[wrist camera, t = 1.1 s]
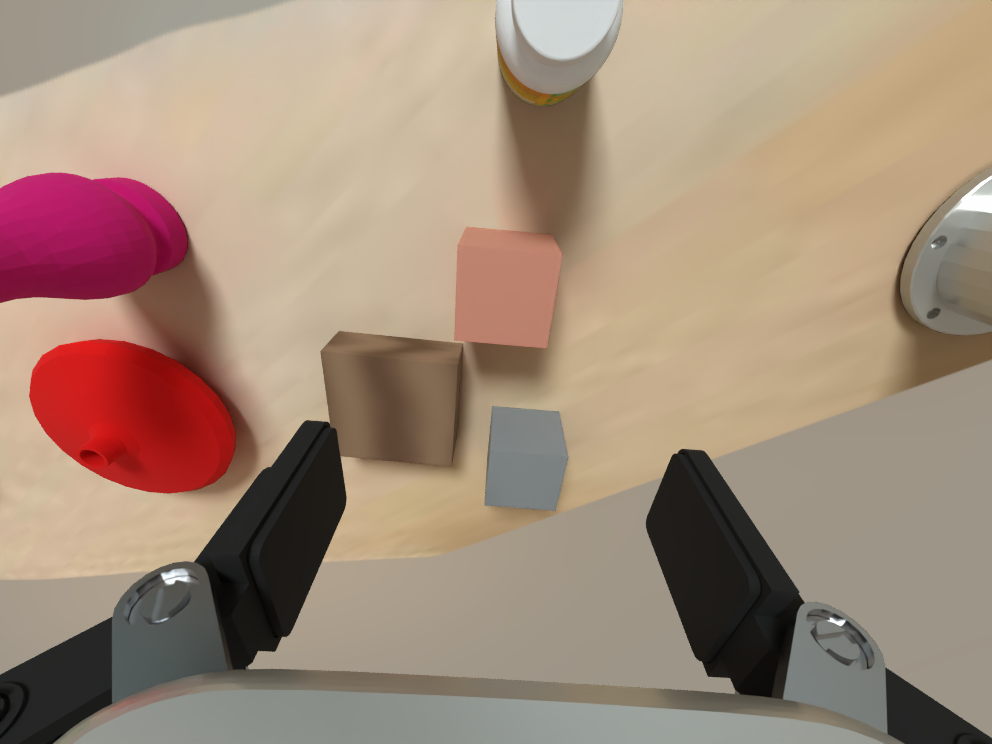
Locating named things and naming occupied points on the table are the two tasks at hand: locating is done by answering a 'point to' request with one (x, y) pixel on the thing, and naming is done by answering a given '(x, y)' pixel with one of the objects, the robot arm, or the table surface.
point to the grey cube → (525, 459)
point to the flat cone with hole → (132, 415)
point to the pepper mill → (84, 237)
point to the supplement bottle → (554, 44)
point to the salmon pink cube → (506, 287)
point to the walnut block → (393, 397)
